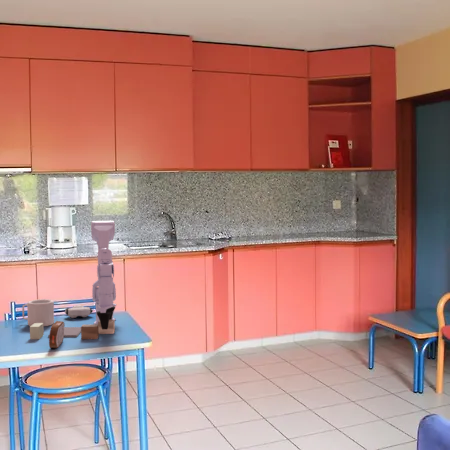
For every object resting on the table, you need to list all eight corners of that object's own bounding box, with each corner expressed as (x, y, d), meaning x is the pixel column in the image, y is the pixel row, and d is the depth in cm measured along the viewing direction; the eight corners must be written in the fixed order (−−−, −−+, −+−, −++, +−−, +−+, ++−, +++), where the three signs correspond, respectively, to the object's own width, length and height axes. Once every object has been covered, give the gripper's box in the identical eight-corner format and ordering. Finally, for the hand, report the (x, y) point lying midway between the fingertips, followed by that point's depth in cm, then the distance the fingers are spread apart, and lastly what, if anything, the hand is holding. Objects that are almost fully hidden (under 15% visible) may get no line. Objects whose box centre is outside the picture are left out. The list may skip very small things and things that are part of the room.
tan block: (99, 332, 234) (99, 319, 234) (114, 331, 235) (114, 319, 234) (98, 334, 231) (98, 321, 231) (113, 334, 231) (113, 321, 231)
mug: (58, 321, 252) (57, 299, 252) (48, 327, 242) (47, 304, 241) (28, 321, 254) (27, 298, 253) (17, 327, 243) (16, 303, 242)
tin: (57, 340, 222) (57, 318, 221) (65, 340, 222) (65, 318, 221) (48, 351, 207) (47, 327, 206) (57, 350, 207) (56, 327, 206)
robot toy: (64, 315, 269) (65, 320, 255) (63, 305, 269) (65, 309, 255) (90, 313, 273) (93, 318, 259) (90, 304, 273) (93, 308, 259)
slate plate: (56, 329, 239) (56, 327, 238) (83, 329, 239) (83, 327, 239) (48, 337, 226) (48, 335, 226) (76, 337, 226) (76, 335, 226)
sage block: (30, 339, 223) (29, 326, 223) (34, 335, 229) (34, 323, 229) (39, 339, 223) (38, 326, 223) (43, 335, 229) (43, 323, 229)
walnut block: (83, 337, 226) (83, 324, 226) (98, 337, 226) (98, 324, 226) (81, 339, 223) (81, 326, 222) (96, 339, 223) (96, 326, 223)
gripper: (113, 296, 225) (113, 331, 225) (118, 290, 239) (119, 322, 240) (94, 296, 224) (95, 331, 225) (101, 290, 239) (102, 322, 240)
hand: (106, 326), depth 233 cm, fingers open, 7 cm apart
